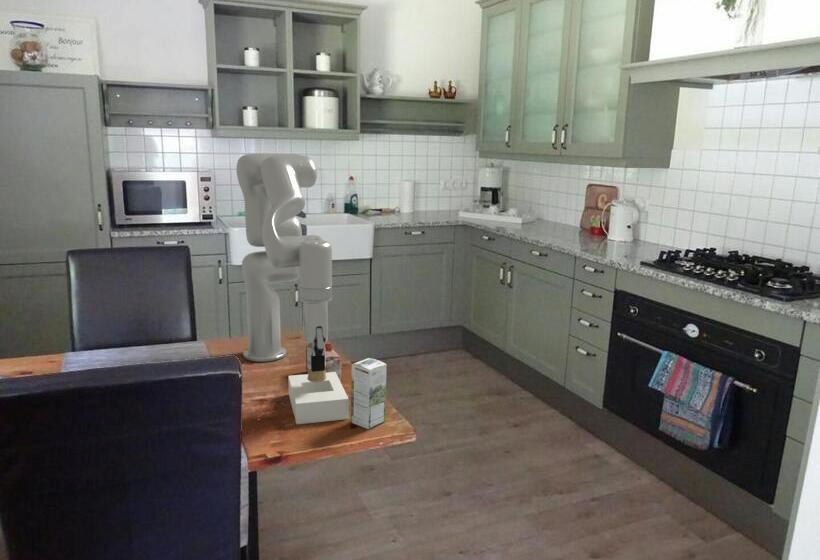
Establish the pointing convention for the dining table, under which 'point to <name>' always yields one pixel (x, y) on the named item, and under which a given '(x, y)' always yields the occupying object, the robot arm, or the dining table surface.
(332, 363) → the food item
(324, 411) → the socket block
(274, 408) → the dining table surface
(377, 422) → the syrup box
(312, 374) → the sprinkles bottle
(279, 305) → the robot arm
